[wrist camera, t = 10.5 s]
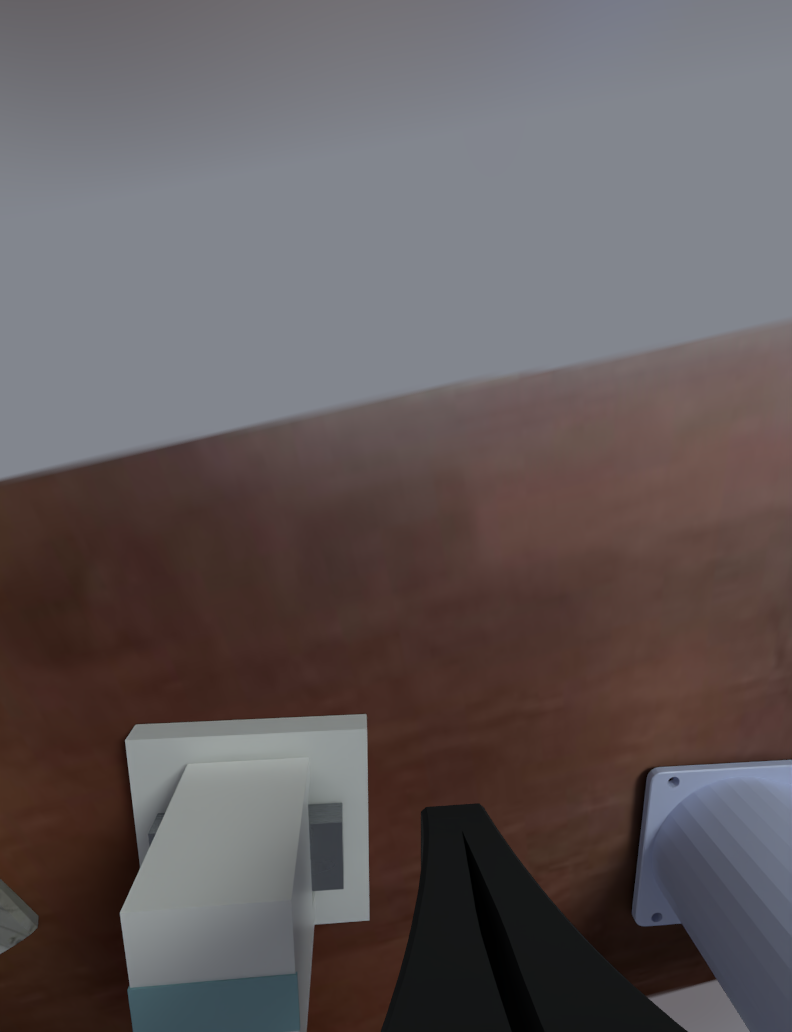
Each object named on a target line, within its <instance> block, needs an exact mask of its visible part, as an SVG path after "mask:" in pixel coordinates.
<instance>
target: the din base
mask: <svg viewBox="0 0 792 1032" xmlns="http://www.w3.org/2000/svg"><path fill="white" fill-rule="evenodd" d="M125 745H126V753H127V762H128V770H129V778H130V787H131V795H132V804H133V812H134V821H135V829H136V837H137V846H138V854H139V863H140V867H141V865H142V863H143V861H144V859H145V856H146V854H147V852H148V850H149V848H150V847H149V838H148V833H149V831H150V829H151V827H152V825H153V822H154V820H155V818H156V816H157V814H158V813H165V812H166V810H167V808H168V806H169V804H170V801H171V799H172V797H173V795H174V793H175V790H176V788H177V786H178V784H179V782H180V779H181V777H182V775H183V773H184V771H185V768H186V766H187V764H194V763H212V762H230V761H248V760H266V759H284V758H302V757H309V772H310V783H309V792H308V804H325V803H342V804H343V846H344V889H338V890H324V891H315V908H316V909H315V923H314V925H315V924H328V923H342V922H355V921H368V920H369V846H368V767H367V717H366V714H357V715H335V716H313V717H291V718H269V719H247V720H225V721H203V722H181V723H159V724H137V725H135V726H134V728H133V729H132V731H131V732H130V734H129V735H128V737H127V738H126V740H125Z"/></svg>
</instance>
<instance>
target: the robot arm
mask: <svg viewBox="0 0 792 1032" xmlns="http://www.w3.org/2000/svg"><path fill="white" fill-rule="evenodd" d="M672 777H673V779H672V780H670V781H668V780H669V779H670V778H672ZM632 916H633V918H634V920H635V921H636V923H637V924H638V925H640V926H657V925H670V924H682V925H683V926H684V928H685V930H686V931H687V933H688V934H689V936H690V937H691V939H692V941H693V942H694V944H695V945H696V947H697V949H698V950H699V952H700V953H701V955H702V956H703V958H704V960H705V961H706V963H707V964H708V966H709V968H710V969H711V971H712V972H713V974H714V975H715V977H716V979H717V980H718V982H719V983H720V985H721V987H722V988H723V990H724V991H725V993H726V994H727V996H728V997H729V999H730V1001H731V1002H732V1004H733V1005H734V1007H735V1009H736V1010H737V1012H738V1013H739V1015H740V1017H741V1018H742V1020H743V1021H744V1023H745V1025H746V1026H747V1028H748V1029H749V1031H750V1032H792V760H778V761H760V762H742V763H724V764H706V765H688V766H670V767H657V768H654V769H652V770H651V771H650V772H649V773H648V775H647V780H646V788H645V797H644V806H643V815H642V824H641V833H640V842H639V851H638V860H637V869H636V878H635V887H634V896H633V905H632ZM381 1032H687V1031H686V1030H685V1029H684V1028H682V1027H681V1026H680V1025H679V1024H677V1023H676V1022H675V1021H674V1020H673V1019H672V1018H670V1017H669V1016H668V1015H667V1014H666V1013H665V1012H663V1011H662V1010H661V1009H660V1008H659V1007H658V1006H656V1005H655V1004H654V1003H653V1002H652V1001H650V1000H649V999H648V998H647V997H646V996H645V995H644V994H642V993H641V992H640V991H639V990H638V989H637V988H635V987H634V986H633V985H632V984H631V983H630V982H629V981H628V980H627V979H626V978H625V977H624V976H623V975H622V974H620V973H619V972H618V971H617V970H616V969H615V968H614V967H613V966H612V965H611V964H610V963H609V962H608V961H607V960H606V959H605V958H604V957H603V956H602V955H601V954H600V953H599V952H598V951H597V950H596V949H595V948H594V947H593V946H592V945H591V944H590V943H589V942H588V941H587V940H586V939H585V938H584V937H583V936H582V934H581V933H580V932H579V931H578V930H577V929H576V928H575V927H574V926H573V925H572V924H571V922H570V921H569V920H568V919H567V918H566V917H565V916H564V915H563V913H562V912H561V911H560V910H559V909H558V908H557V906H556V905H555V904H554V903H553V902H552V901H551V899H550V898H549V897H548V896H547V895H546V893H545V892H544V891H543V890H542V888H541V887H540V886H539V885H538V883H537V882H536V881H535V880H534V878H533V877H532V876H531V874H530V873H529V872H528V871H527V869H526V868H525V867H524V865H523V864H522V863H521V862H520V860H519V859H518V857H517V856H516V855H515V853H514V852H513V851H512V849H511V848H510V846H509V845H508V844H507V842H506V841H505V839H504V838H503V836H502V835H501V834H500V832H499V831H498V829H497V828H496V826H495V825H494V823H493V822H492V820H491V818H490V817H489V815H488V814H487V812H486V811H485V809H484V807H482V806H481V805H480V804H465V805H450V806H436V807H426V808H425V809H424V810H423V811H422V812H421V875H420V883H419V890H418V896H417V901H416V906H415V911H414V916H413V921H412V926H411V931H410V935H409V939H408V943H407V947H406V951H405V955H404V959H403V962H402V966H401V970H400V973H399V977H398V980H397V983H396V987H395V990H394V993H393V996H392V999H391V1003H390V1006H389V1009H388V1012H387V1015H386V1018H385V1021H384V1024H383V1027H382V1029H381Z"/></svg>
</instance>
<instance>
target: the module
mask: <svg viewBox="0 0 792 1032" xmlns="http://www.w3.org/2000/svg"><path fill="white" fill-rule="evenodd" d="M309 783H310V772H309V757H302V758H284V759H266V760H248V761H230V762H212V763H194V764H187V766H186V768H185V771H184V773H183V775H182V777H181V779H180V782H179V784H178V786H177V788H176V790H175V793H174V795H173V797H172V799H171V801H170V804H169V806H168V808H167V810H166V812H165V815H164V817H163V819H162V821H161V823H160V826H159V828H158V830H157V832H156V834H155V837H154V839H153V841H152V843H151V845H150V848H149V850H148V852H147V854H146V856H145V859H144V861H143V863H142V865H141V867H140V870H139V872H138V874H137V876H136V878H135V881H134V883H133V885H132V887H131V889H130V892H129V894H128V896H127V898H126V900H125V903H124V905H123V907H122V909H121V911H120V919H121V926H122V933H123V941H124V948H125V955H126V963H127V970H128V977H129V984H130V986H129V987H128V990H127V991H128V998H129V1006H130V1013H131V1020H132V1027H133V1032H307V1019H308V1005H309V992H310V978H311V964H312V950H313V936H314V923H315V909H316V908H315V891H312V882H311V860H310V838H309V816H308V792H309Z"/></svg>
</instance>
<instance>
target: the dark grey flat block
mask: <svg viewBox="0 0 792 1032" xmlns="http://www.w3.org/2000/svg"><path fill="white" fill-rule="evenodd" d="M164 815H165V813H158V814H157V816H156V818H155V820H154V822H153V825H152V827H151V829H150V831H149V833H148V838H149V847H150V845H151V843H152V841H153V839H154V837H155V834H156V832H157V830H158V828H159V826H160V823H161V821H162V819H163V817H164ZM308 816H309V838H310V860H311V882H312V891H324V890H338V889H344V846H343V804H342V803H325V804H308Z"/></svg>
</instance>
